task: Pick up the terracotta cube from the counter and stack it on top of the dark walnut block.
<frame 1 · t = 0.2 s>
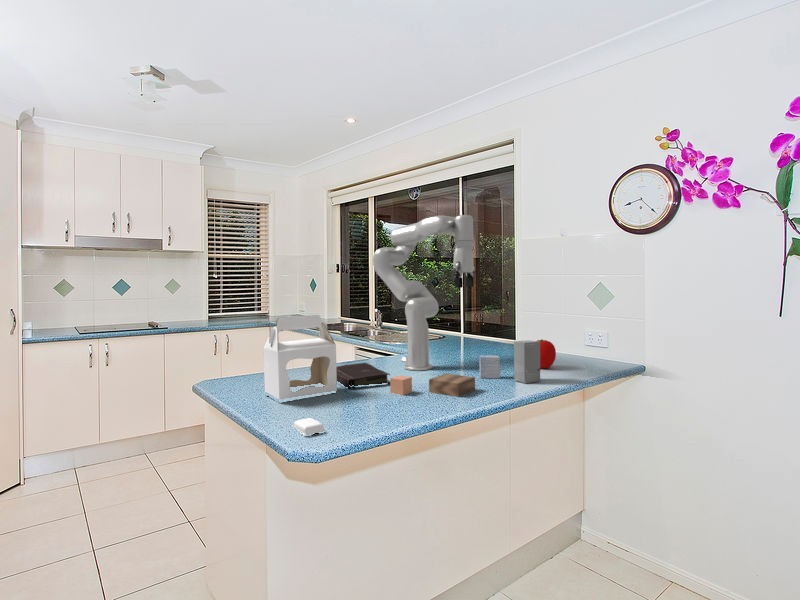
hand: (464, 287, 200), 37 cm above the table, tool pointing down, fingers open, 9 cm apart
diary: (357, 382, 193), on the table
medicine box: (489, 378, 195), on the table
terracotta cube: (401, 392, 172), on the table
soap: (308, 432, 131), on the table
gable box: (301, 395, 171), on the table
tomato: (542, 368, 213), on the table
walnut block: (452, 392, 173), on the table
tall grey block: (527, 381, 188), on the table
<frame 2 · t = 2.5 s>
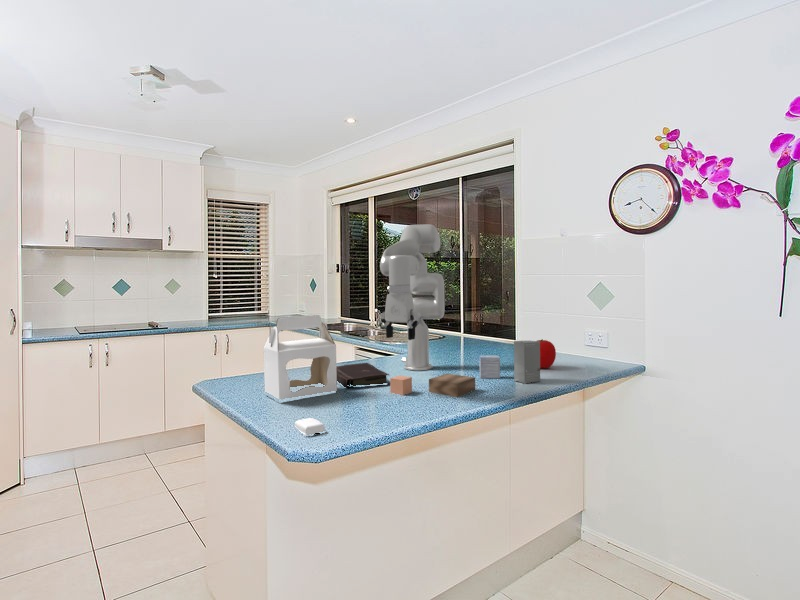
hand: (400, 338, 171), 20 cm above the table, tool pointing down, fingers open, 9 cm apart
nothing on the table moved.
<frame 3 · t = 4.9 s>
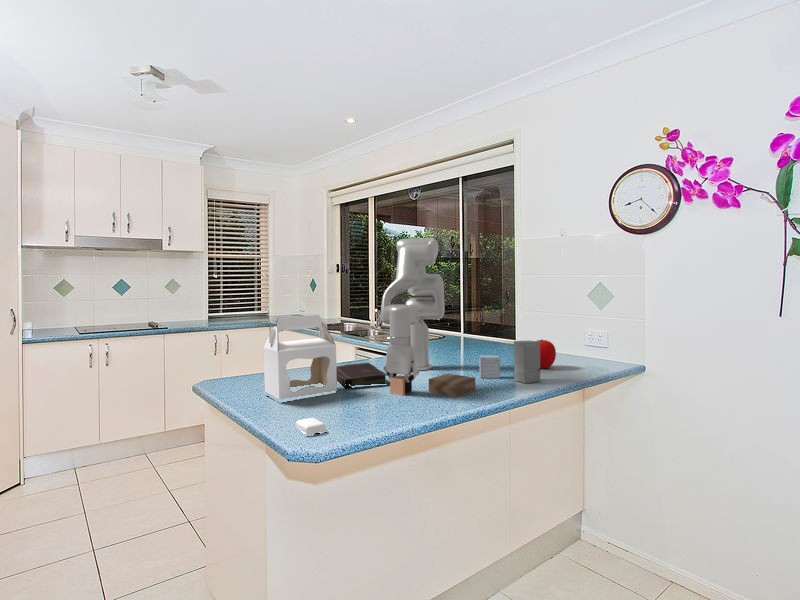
hand: (401, 391, 172), 1 cm above the table, tool pointing down, fingers closed on terracotta cube, 5 cm apart
terracotta cube: (401, 392, 172), on the table, touching gripper
everything else where it was.
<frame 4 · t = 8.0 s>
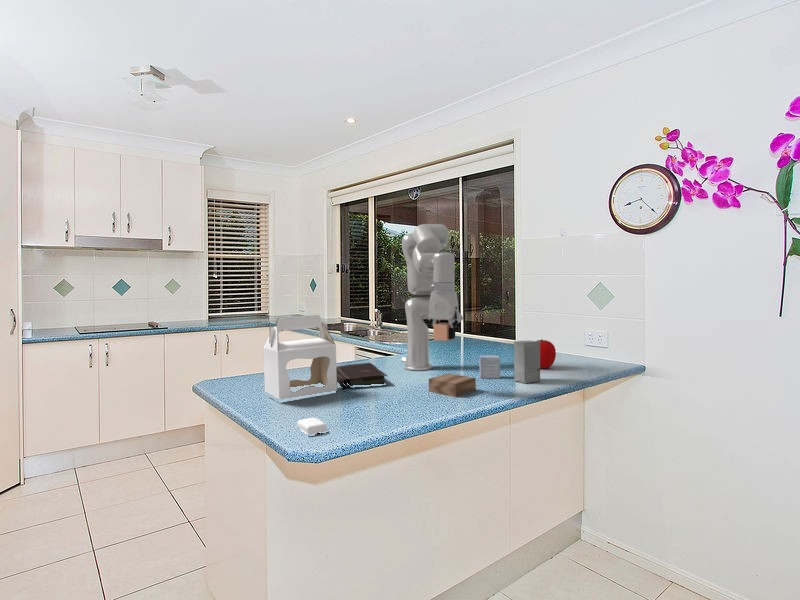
hand: (444, 337, 172), 19 cm above the table, tool pointing down, fingers closed on terracotta cube, 5 cm apart
terracotta cube: (444, 339, 172), point 19 cm above the table, touching gripper
when the fingers open (6 cm above the table, at t = 11.2 s): terracotta cube drops 1 cm, point 5 cm above the table.
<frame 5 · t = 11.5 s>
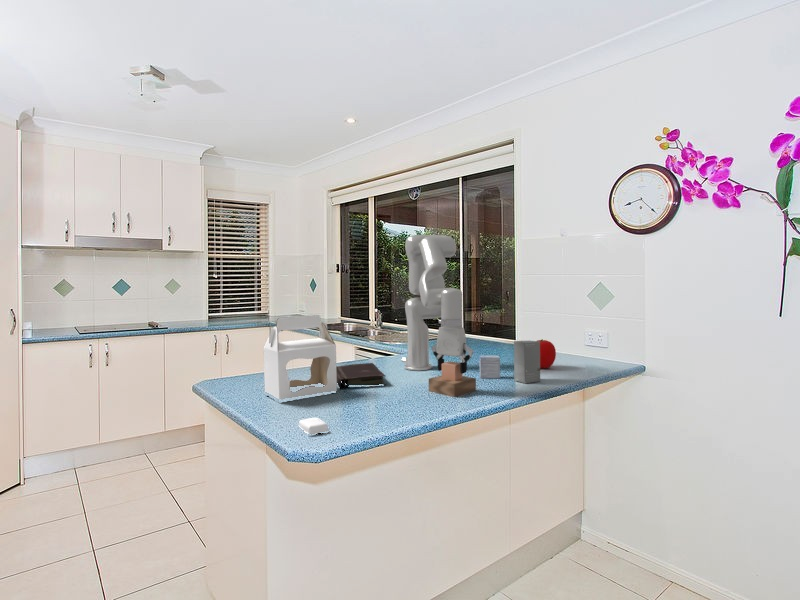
hand: (452, 371, 173), 7 cm above the table, tool pointing down, fingers open, 8 cm apart
terracotta cube: (452, 378, 173), point 5 cm above the table
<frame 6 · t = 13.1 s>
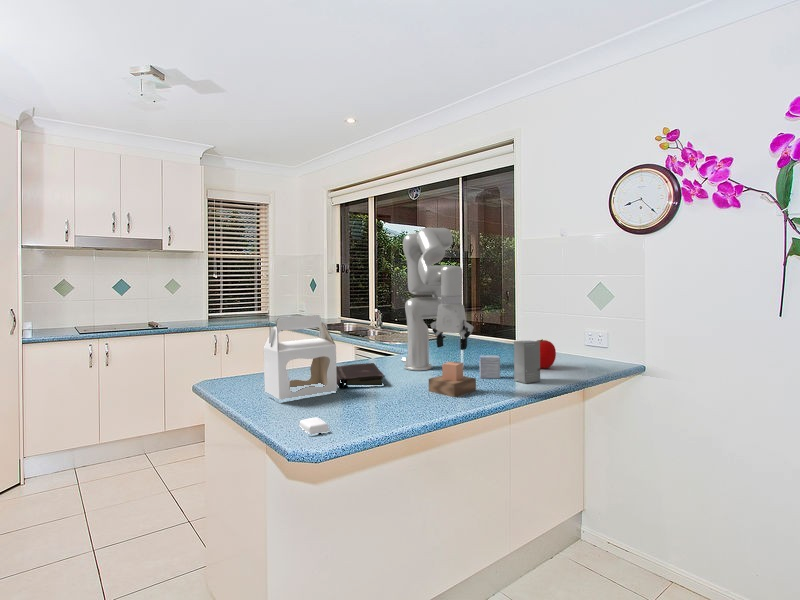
hand: (451, 348, 173), 16 cm above the table, tool pointing down, fingers open, 9 cm apart
terracotta cube: (452, 378, 173), point 5 cm above the table, touching walnut block
walnut block: (452, 392, 173), on the table, touching terracotta cube
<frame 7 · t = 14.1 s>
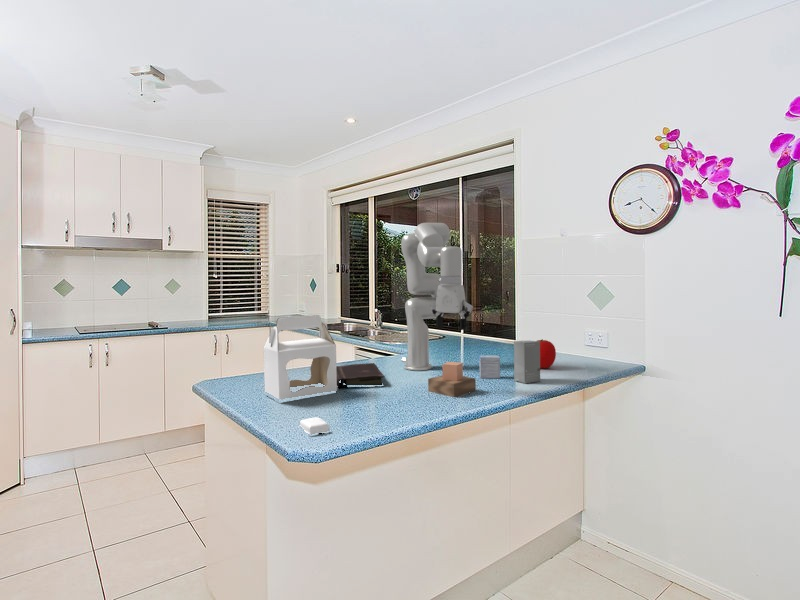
hand: (451, 328, 173), 22 cm above the table, tool pointing down, fingers open, 9 cm apart
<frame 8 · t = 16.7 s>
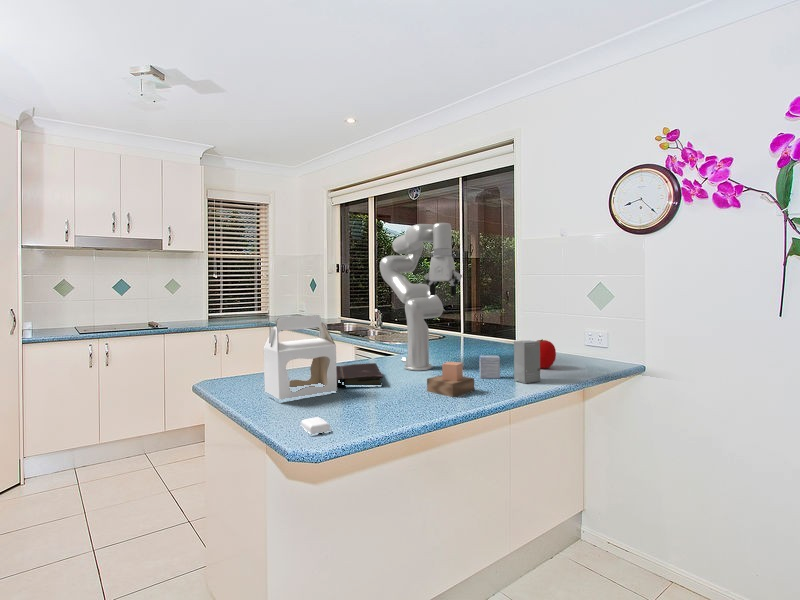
hand: (442, 295, 197), 33 cm above the table, tool pointing down, fingers open, 9 cm apart
at the end: terracotta cube inside the target area on the walnut block (0.8 cm from its centre), point 5.0 cm above the walnut block's base; terracotta cube tilted 0°; the gripper is holding nothing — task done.
